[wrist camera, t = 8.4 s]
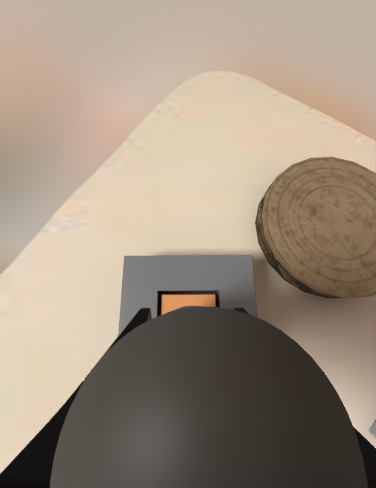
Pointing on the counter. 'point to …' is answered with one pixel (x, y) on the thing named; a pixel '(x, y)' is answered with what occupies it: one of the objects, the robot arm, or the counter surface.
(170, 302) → the button
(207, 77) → the counter surface
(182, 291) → the grey square block
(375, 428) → the mat
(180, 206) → the counter surface
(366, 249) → the brown ringed flat disc
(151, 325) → the dark-capped brown cylinder
